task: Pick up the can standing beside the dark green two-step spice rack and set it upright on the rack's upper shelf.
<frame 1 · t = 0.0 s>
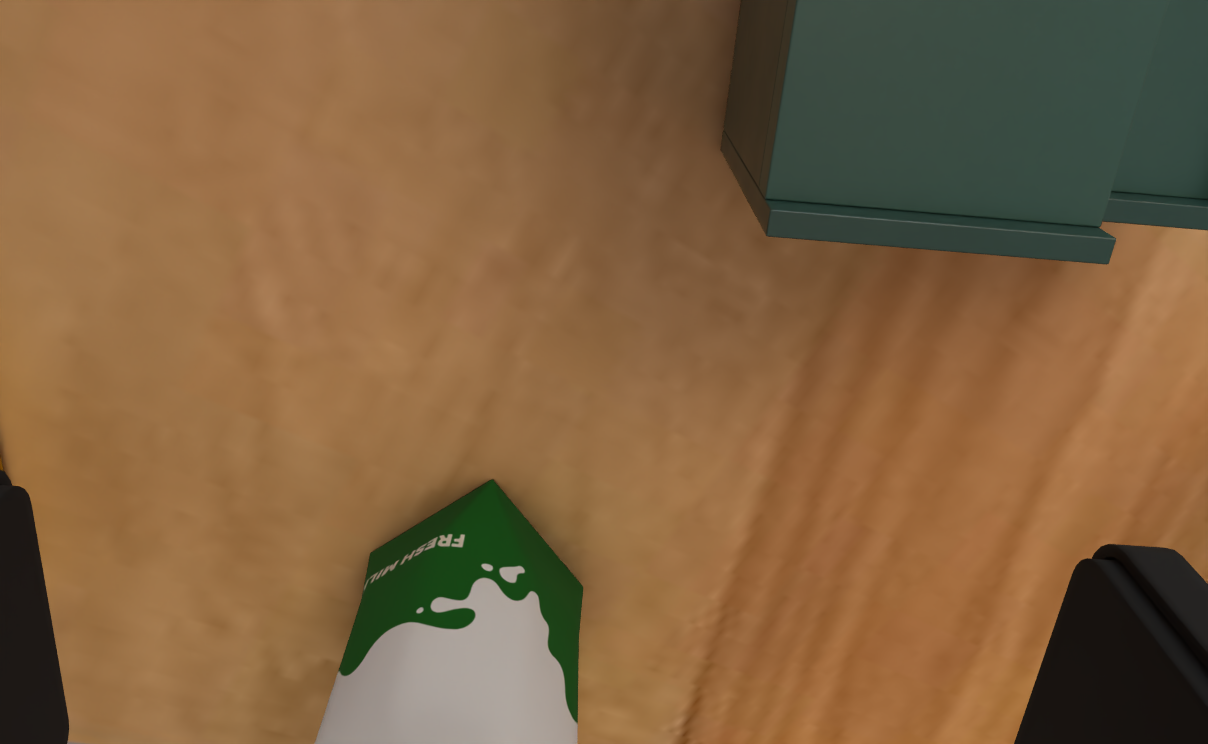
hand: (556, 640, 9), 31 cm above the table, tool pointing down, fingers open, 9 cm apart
milk carton: (477, 565, 47), on the table
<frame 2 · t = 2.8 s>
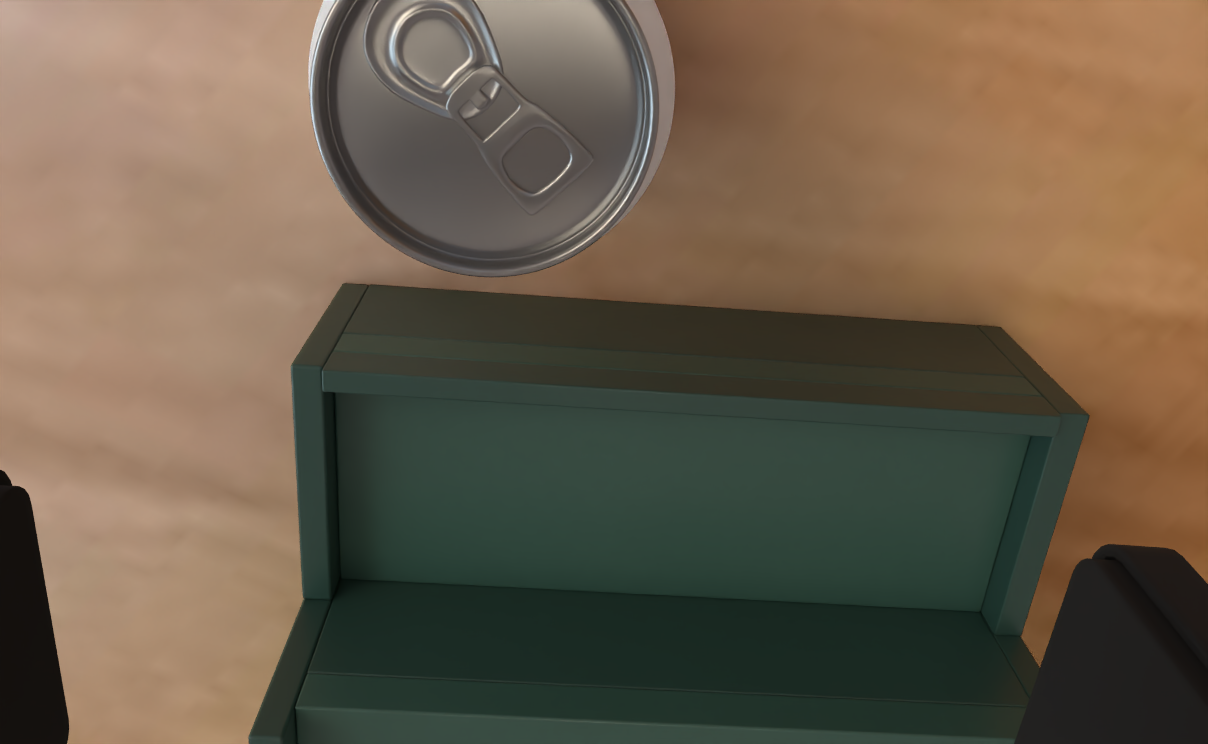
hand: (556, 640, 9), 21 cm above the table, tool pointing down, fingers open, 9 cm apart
can: (523, 30, 27), on the table
step rack: (649, 541, 34), on the table
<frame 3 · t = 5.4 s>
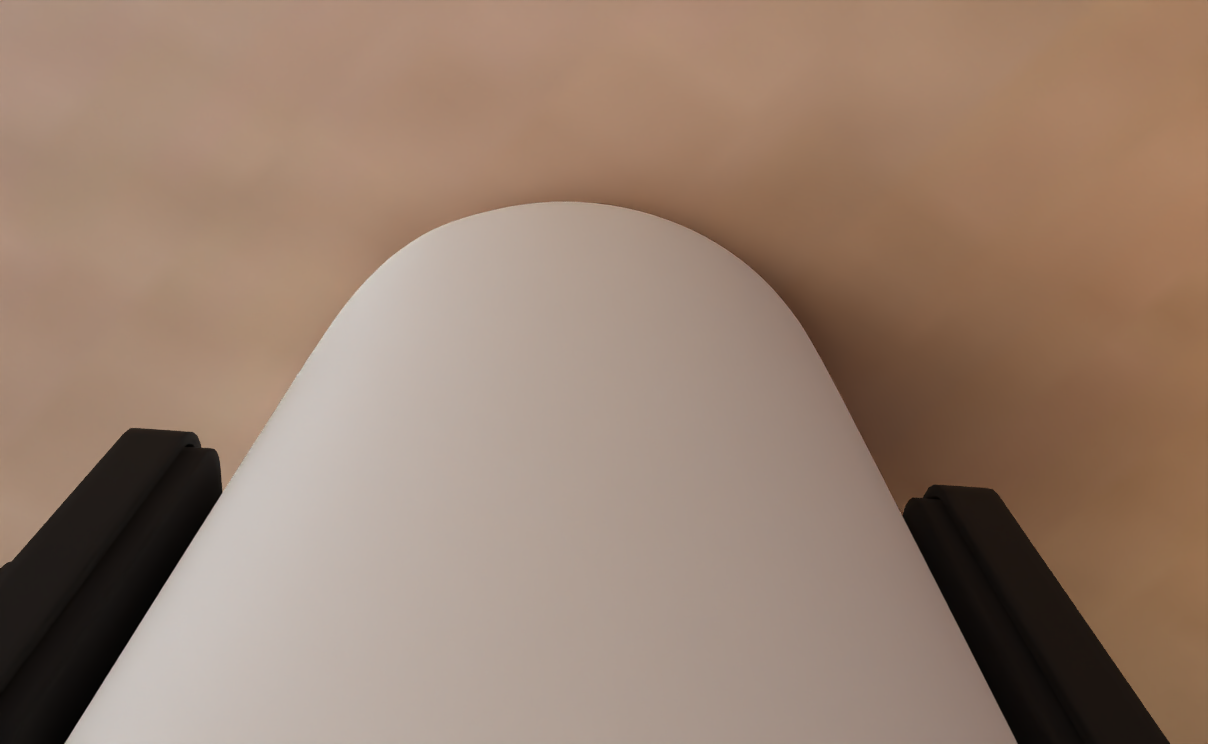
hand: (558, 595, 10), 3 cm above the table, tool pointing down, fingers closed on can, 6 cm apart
can: (568, 436, 13), on the table, touching gripper
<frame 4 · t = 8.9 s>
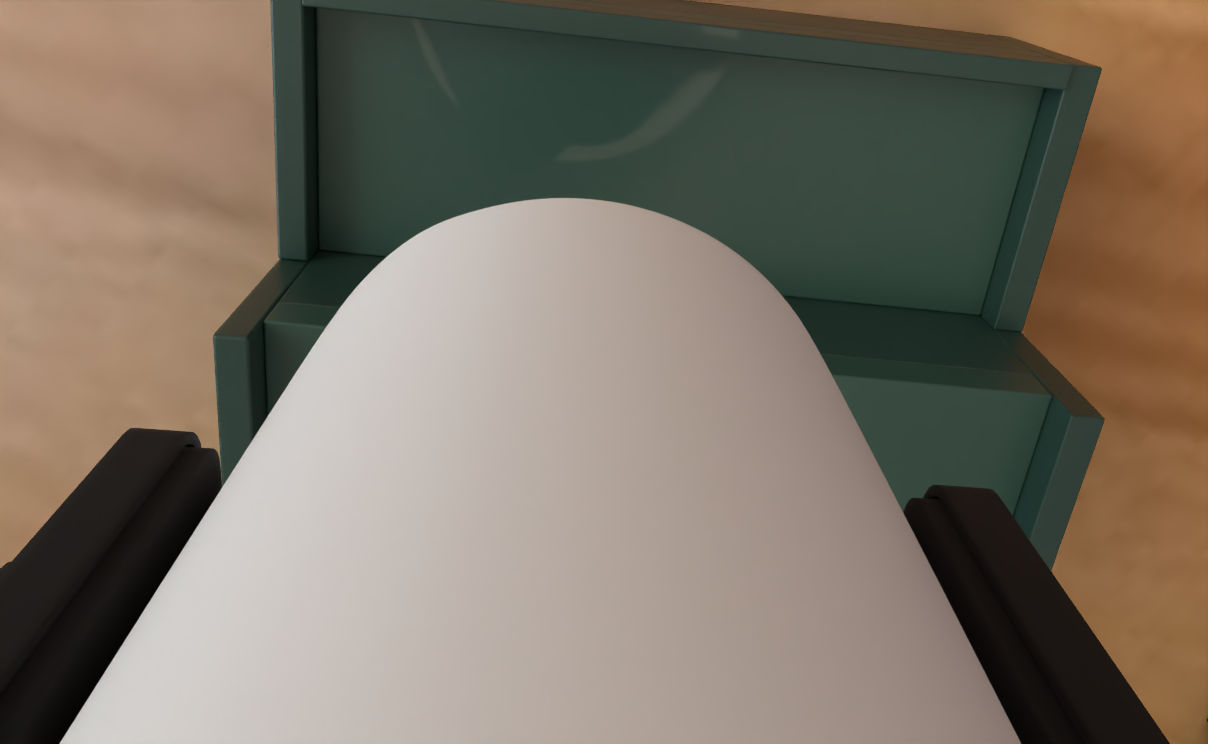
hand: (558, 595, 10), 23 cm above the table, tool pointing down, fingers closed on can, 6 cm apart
can: (568, 433, 13), point 20 cm above the table, touching gripper
step rack: (641, 274, 33), on the table
when the fingers open (13 cm above the table, at t = 12.6 s): can stays where it is, resting on step rack.
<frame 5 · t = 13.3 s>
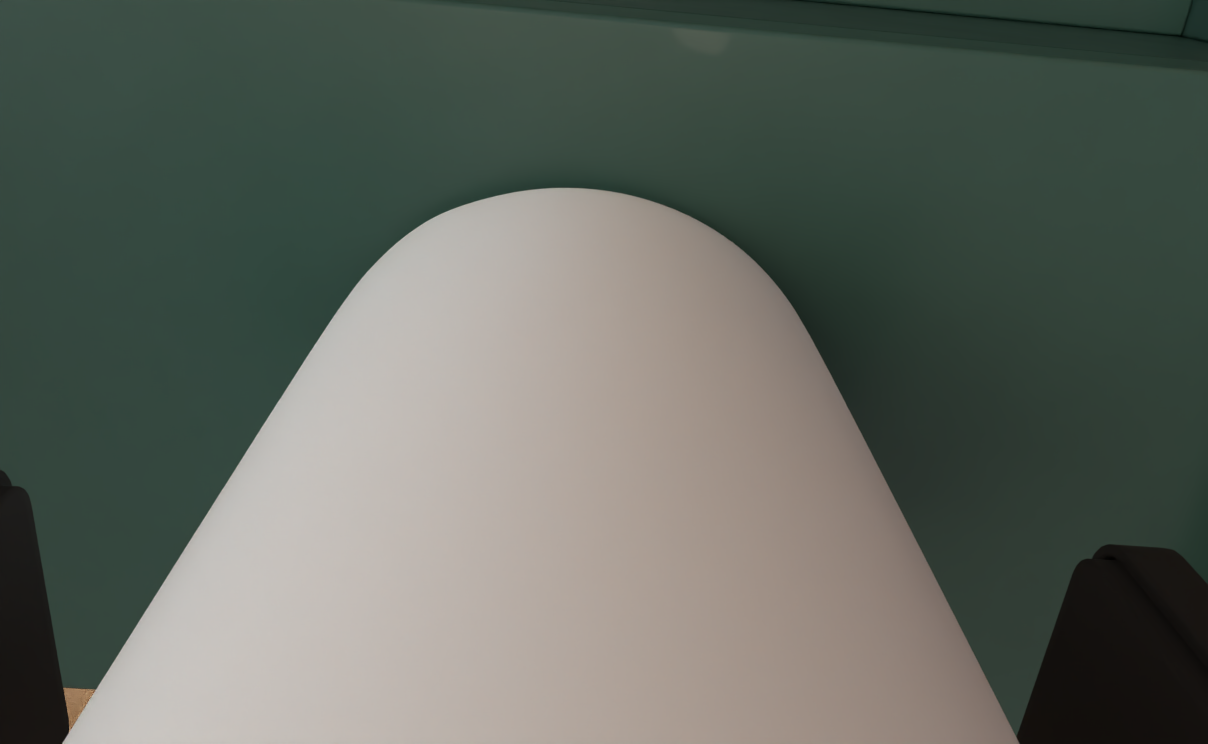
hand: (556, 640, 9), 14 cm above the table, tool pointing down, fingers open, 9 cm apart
can: (569, 416, 13), point 10 cm above the table, touching step rack
step rack: (592, 43, 21), on the table
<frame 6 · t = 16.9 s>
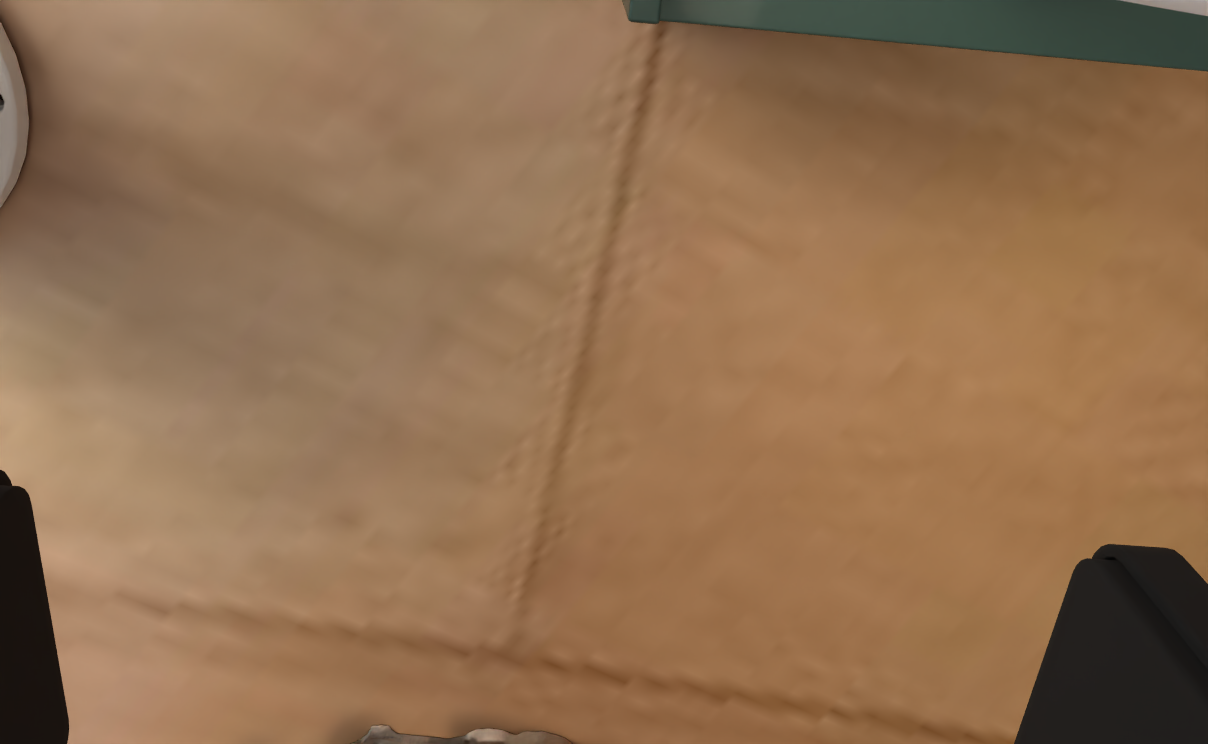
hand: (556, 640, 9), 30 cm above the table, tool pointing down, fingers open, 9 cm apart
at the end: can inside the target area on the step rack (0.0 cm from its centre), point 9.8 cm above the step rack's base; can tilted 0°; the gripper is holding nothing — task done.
